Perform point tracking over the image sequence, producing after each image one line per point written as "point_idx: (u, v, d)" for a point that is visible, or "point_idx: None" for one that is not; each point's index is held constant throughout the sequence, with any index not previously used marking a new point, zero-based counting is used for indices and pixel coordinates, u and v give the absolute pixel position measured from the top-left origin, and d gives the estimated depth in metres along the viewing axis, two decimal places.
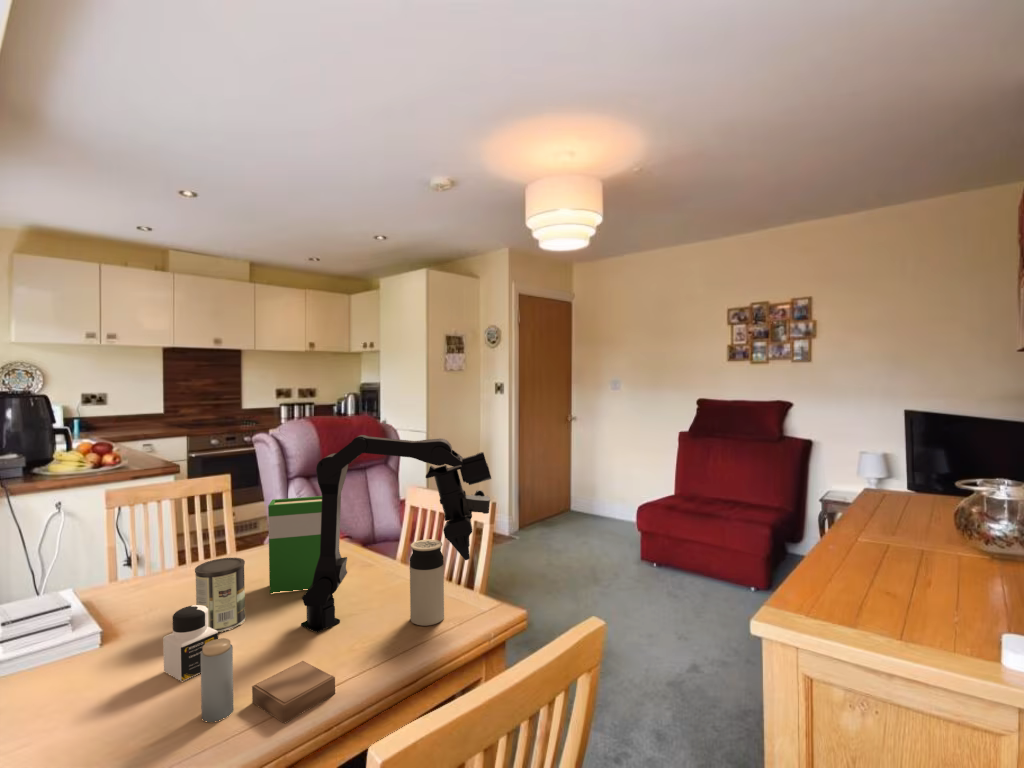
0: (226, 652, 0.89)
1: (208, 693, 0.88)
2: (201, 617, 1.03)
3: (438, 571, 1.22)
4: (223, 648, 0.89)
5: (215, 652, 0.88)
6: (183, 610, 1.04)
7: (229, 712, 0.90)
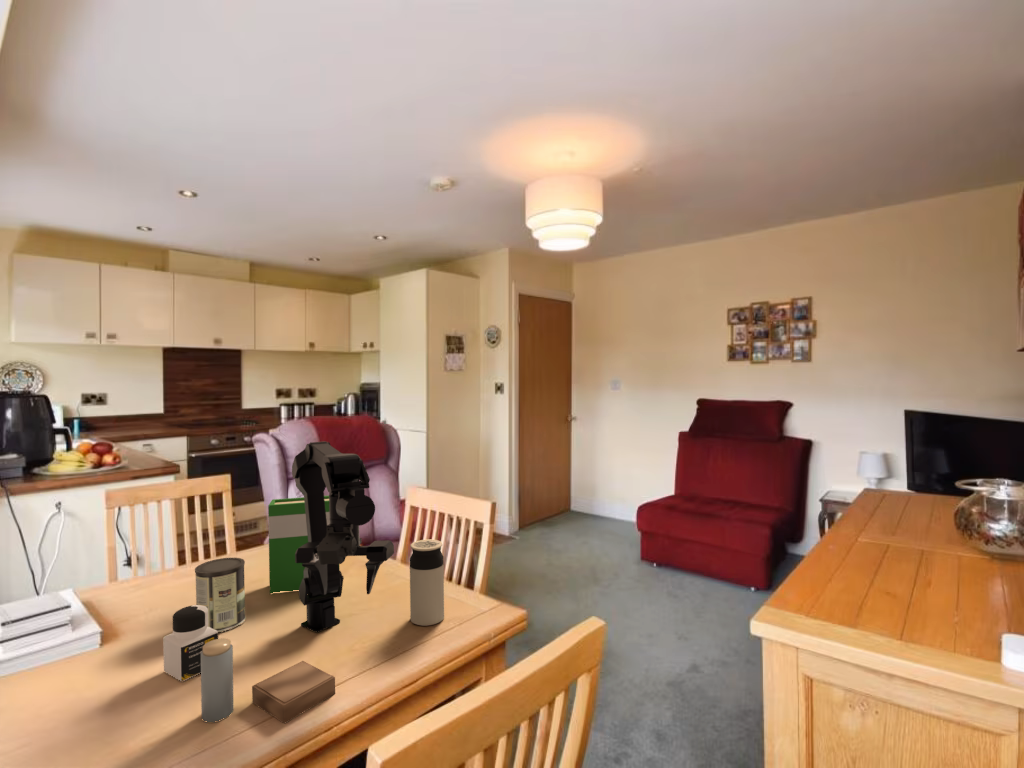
0: (226, 652, 0.89)
1: (208, 693, 0.88)
2: (201, 617, 1.03)
3: (438, 571, 1.22)
4: (223, 648, 0.89)
5: (215, 652, 0.88)
6: (183, 610, 1.04)
7: (229, 712, 0.90)
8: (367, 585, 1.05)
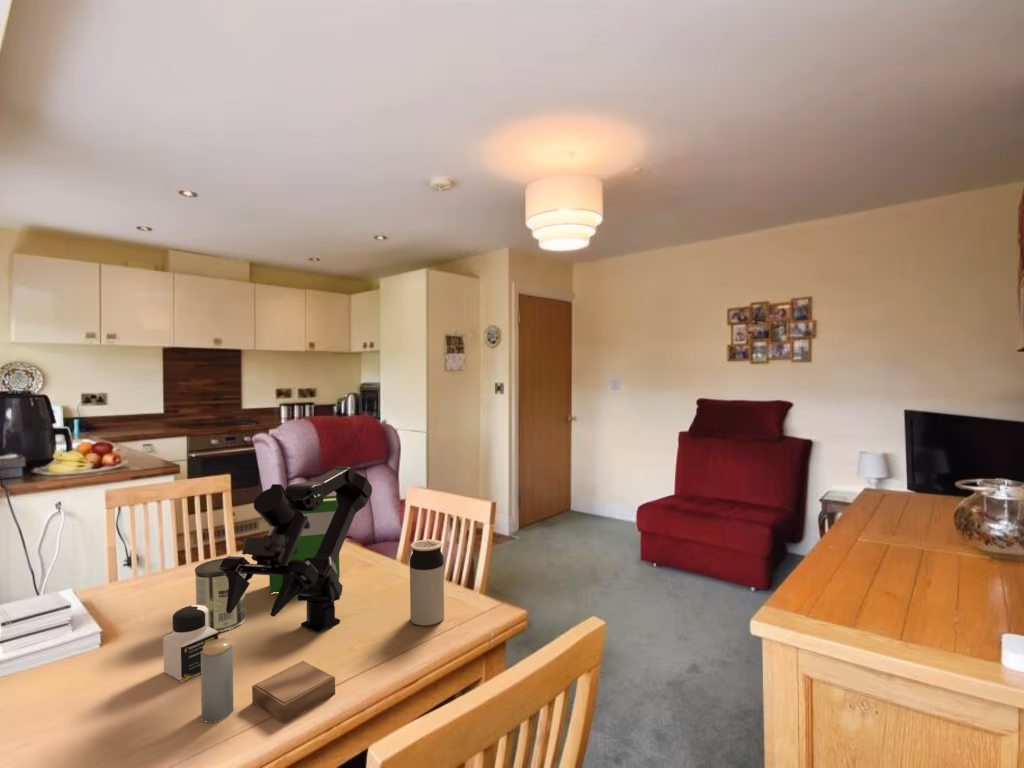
0: (226, 652, 0.89)
1: (208, 693, 0.88)
2: (201, 617, 1.03)
3: (438, 571, 1.22)
4: (223, 648, 0.89)
5: (215, 652, 0.88)
6: (183, 610, 1.04)
7: (229, 712, 0.90)
8: (275, 603, 0.98)
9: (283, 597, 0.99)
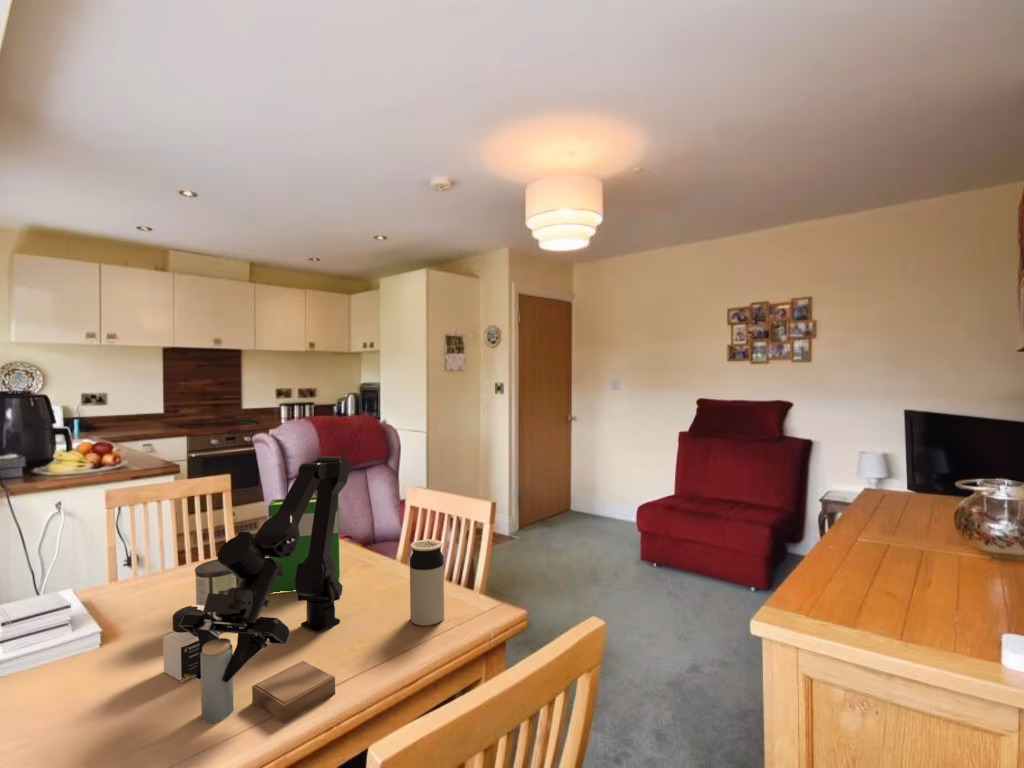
0: (226, 652, 0.89)
1: (208, 693, 0.88)
2: None
3: (438, 571, 1.22)
4: (223, 648, 0.89)
5: (215, 652, 0.88)
6: (183, 610, 1.04)
7: (229, 712, 0.90)
8: (228, 667, 0.89)
9: (238, 660, 0.90)
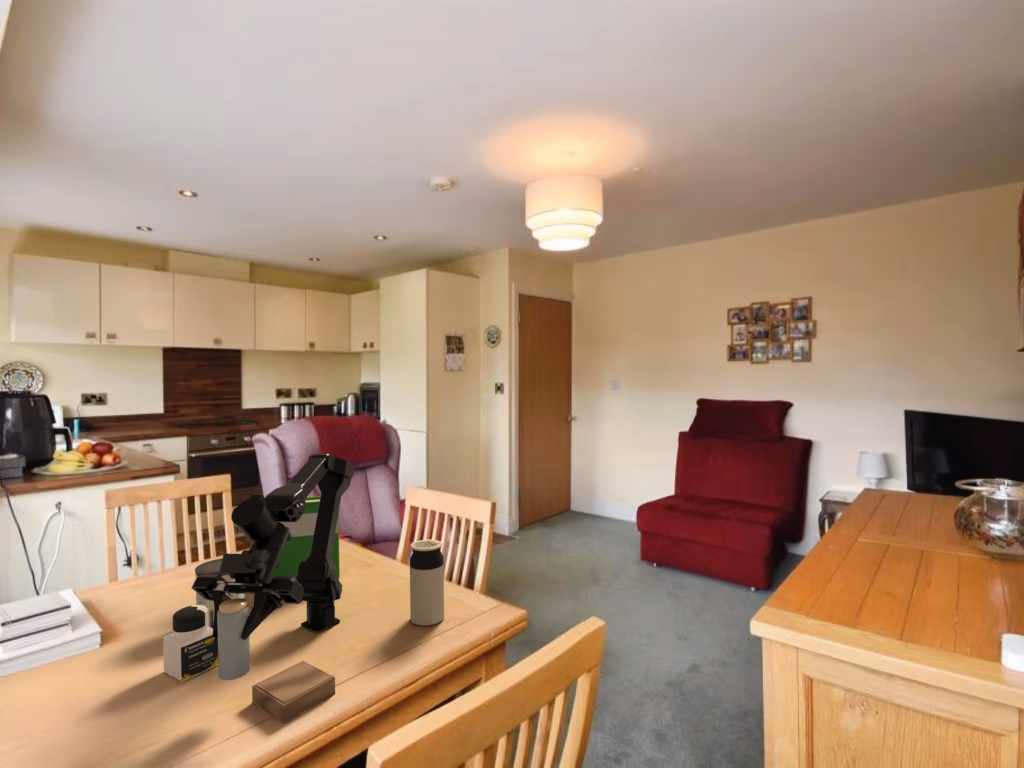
0: (243, 610, 0.90)
1: (226, 651, 0.88)
2: (201, 617, 1.03)
3: (438, 571, 1.22)
4: (240, 606, 0.90)
5: (233, 610, 0.89)
6: (183, 610, 1.04)
7: (246, 670, 0.90)
8: (246, 625, 0.90)
9: (255, 618, 0.91)
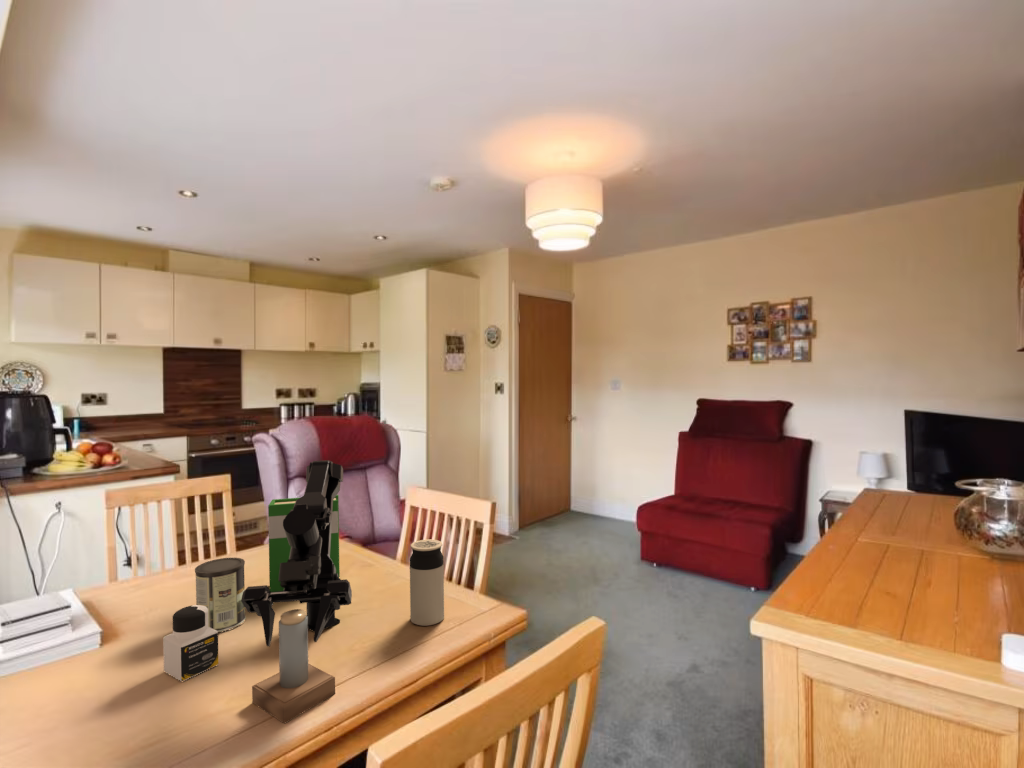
0: (305, 619, 0.94)
1: (291, 660, 0.92)
2: (201, 617, 1.03)
3: (438, 571, 1.22)
4: (303, 616, 0.94)
5: (297, 620, 0.93)
6: (183, 610, 1.04)
7: (307, 676, 0.95)
8: (316, 628, 0.94)
9: (323, 620, 0.95)
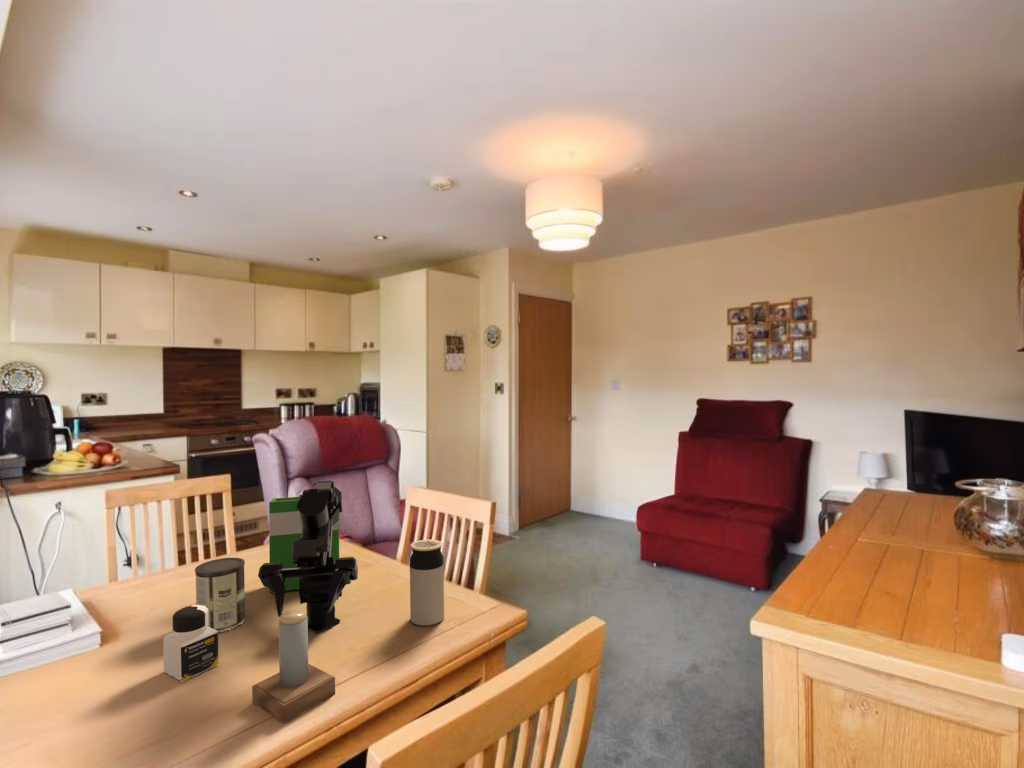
0: (305, 619, 0.94)
1: (291, 660, 0.92)
2: (201, 617, 1.03)
3: (438, 571, 1.22)
4: (303, 616, 0.94)
5: (297, 620, 0.93)
6: (183, 610, 1.04)
7: (307, 676, 0.95)
8: (329, 599, 1.04)
9: (335, 593, 1.05)
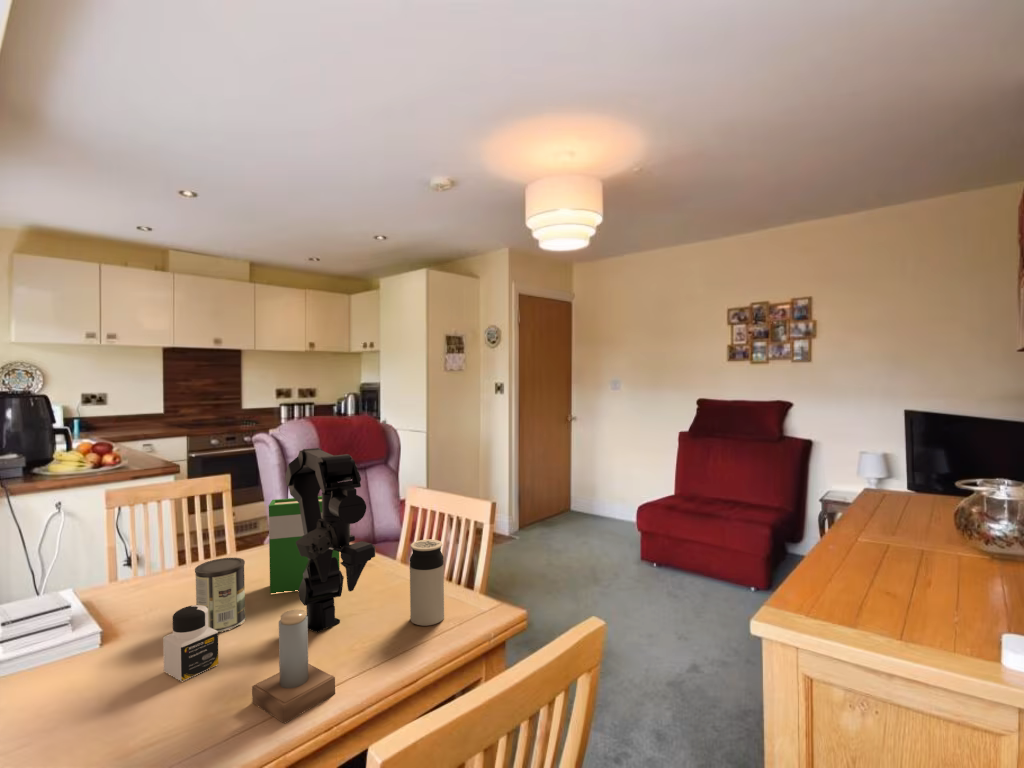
0: (305, 619, 0.94)
1: (291, 660, 0.92)
2: (201, 617, 1.03)
3: (438, 571, 1.22)
4: (303, 616, 0.94)
5: (297, 620, 0.93)
6: (183, 610, 1.04)
7: (307, 676, 0.95)
8: (347, 583, 1.09)
9: (351, 577, 1.09)
